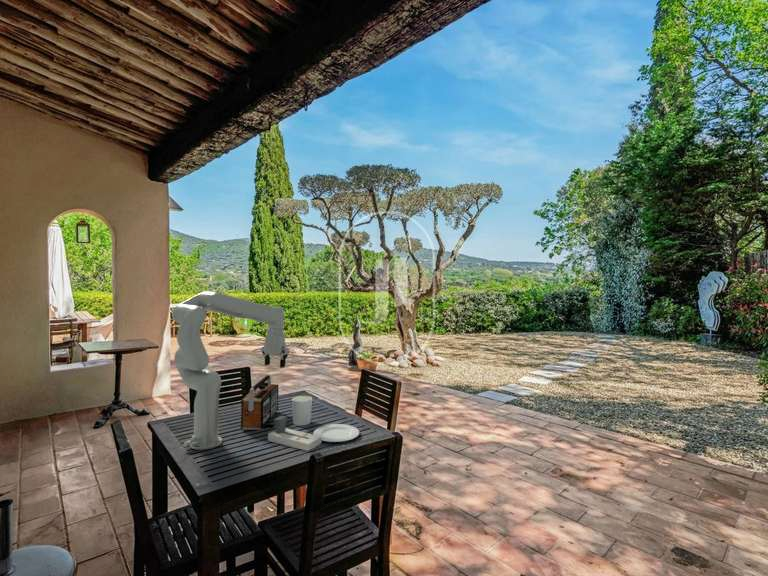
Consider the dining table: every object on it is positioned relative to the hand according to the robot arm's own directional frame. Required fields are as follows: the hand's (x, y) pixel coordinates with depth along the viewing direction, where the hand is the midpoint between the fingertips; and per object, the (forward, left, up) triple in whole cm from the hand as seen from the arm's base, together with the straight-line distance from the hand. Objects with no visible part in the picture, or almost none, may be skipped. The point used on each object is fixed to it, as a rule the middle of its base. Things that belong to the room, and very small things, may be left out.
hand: (274, 366), depth 200 cm
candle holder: (+4, -14, -28) cm, 31 cm away
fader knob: (-16, -18, -24) cm, 34 cm away
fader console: (-16, -26, -27) cm, 41 cm away
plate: (-1, -38, -28) cm, 47 cm away
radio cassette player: (-4, +5, -28) cm, 28 cm away
